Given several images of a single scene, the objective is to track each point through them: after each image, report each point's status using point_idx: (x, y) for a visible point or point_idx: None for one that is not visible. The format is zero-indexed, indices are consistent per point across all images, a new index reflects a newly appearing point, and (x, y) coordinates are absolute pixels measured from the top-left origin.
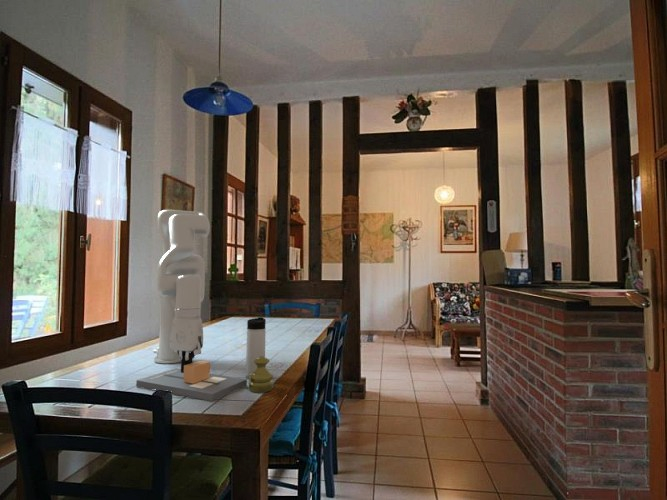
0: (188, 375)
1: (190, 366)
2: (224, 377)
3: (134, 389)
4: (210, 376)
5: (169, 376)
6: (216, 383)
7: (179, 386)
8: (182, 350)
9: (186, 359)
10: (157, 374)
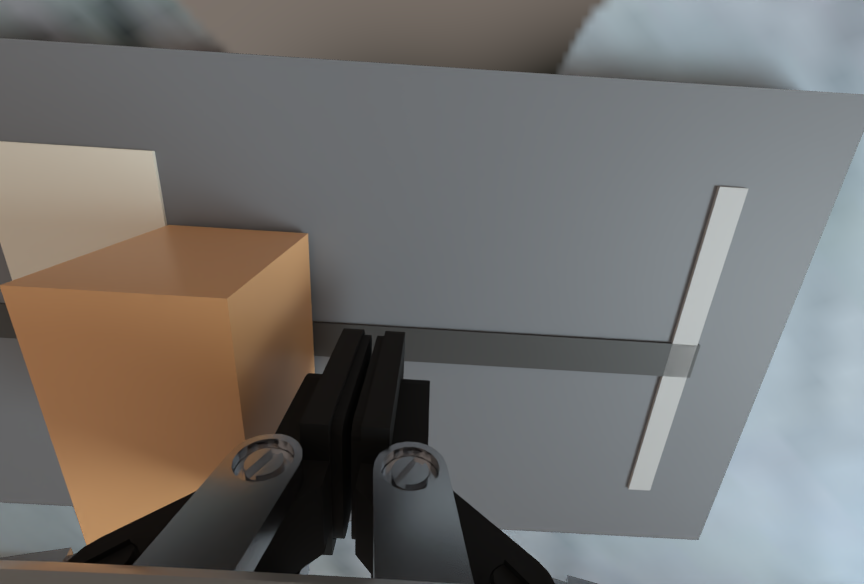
0: (200, 250)
1: (75, 289)
2: None
3: (779, 18)
4: None
5: (591, 337)
6: (5, 321)
7: (236, 103)
8: (195, 573)
9: (281, 452)
10: (757, 349)
